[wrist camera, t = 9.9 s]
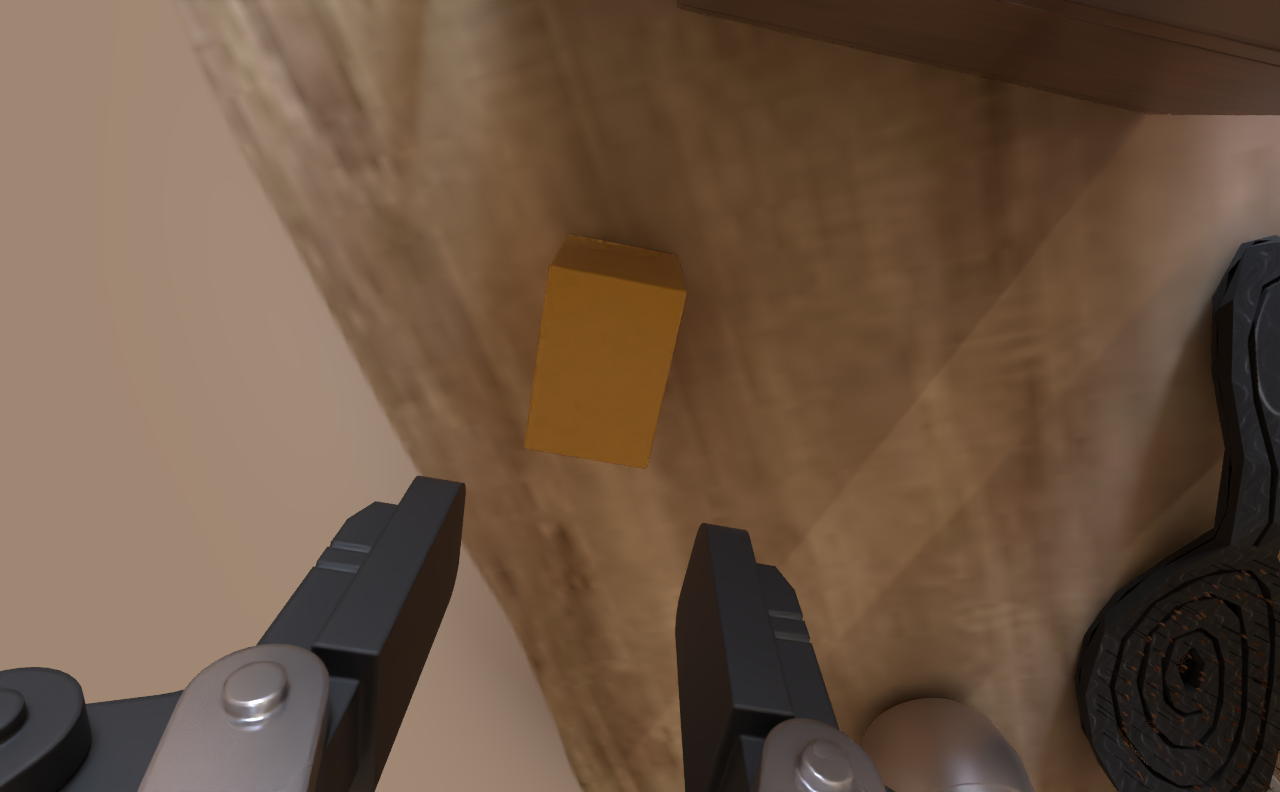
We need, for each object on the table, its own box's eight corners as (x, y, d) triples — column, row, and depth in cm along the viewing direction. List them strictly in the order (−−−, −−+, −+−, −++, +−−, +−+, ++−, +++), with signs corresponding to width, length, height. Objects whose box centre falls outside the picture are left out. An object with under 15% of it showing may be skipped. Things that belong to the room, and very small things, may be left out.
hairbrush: (1512, 223, 17) (1328, 846, 26) (1370, 211, 21) (1249, 764, 30) (1191, 276, 18) (1116, 865, 27) (1105, 256, 22) (1063, 784, 30)
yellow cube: (545, 386, 23) (523, 449, 18) (567, 233, 20) (548, 264, 16) (646, 404, 23) (646, 470, 19) (678, 254, 21) (687, 291, 17)
